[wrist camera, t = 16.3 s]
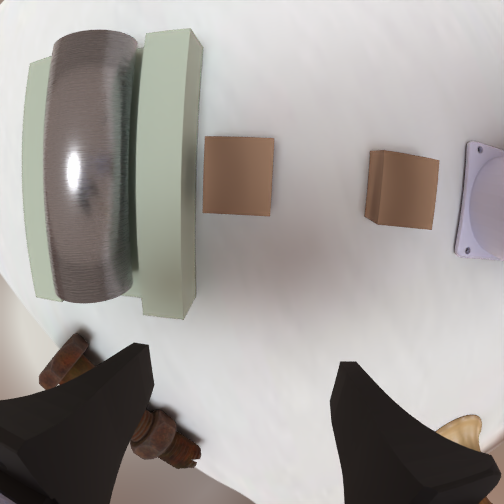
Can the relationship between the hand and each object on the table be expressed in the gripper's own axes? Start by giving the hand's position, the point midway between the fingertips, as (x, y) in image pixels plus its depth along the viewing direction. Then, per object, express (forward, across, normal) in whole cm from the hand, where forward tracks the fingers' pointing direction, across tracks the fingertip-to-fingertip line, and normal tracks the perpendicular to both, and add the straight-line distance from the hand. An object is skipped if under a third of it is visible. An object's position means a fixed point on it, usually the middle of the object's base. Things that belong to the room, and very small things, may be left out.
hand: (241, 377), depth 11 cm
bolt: (+10, +10, +12) cm, 19 cm away
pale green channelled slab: (+9, +10, -7) cm, 15 cm away
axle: (+6, +10, -7) cm, 13 cm away
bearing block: (+9, -4, -7) cm, 12 cm away
